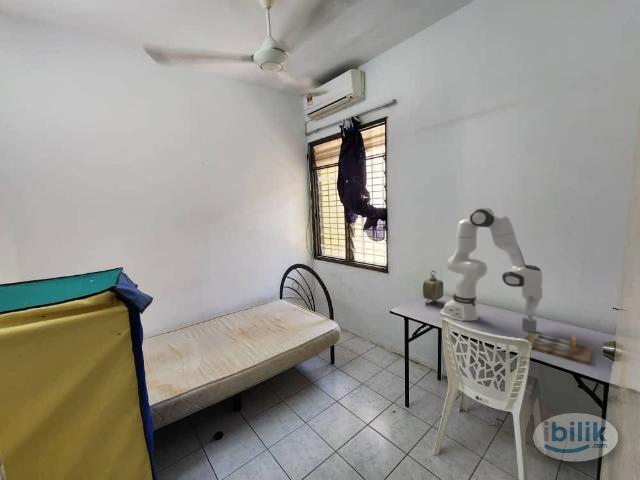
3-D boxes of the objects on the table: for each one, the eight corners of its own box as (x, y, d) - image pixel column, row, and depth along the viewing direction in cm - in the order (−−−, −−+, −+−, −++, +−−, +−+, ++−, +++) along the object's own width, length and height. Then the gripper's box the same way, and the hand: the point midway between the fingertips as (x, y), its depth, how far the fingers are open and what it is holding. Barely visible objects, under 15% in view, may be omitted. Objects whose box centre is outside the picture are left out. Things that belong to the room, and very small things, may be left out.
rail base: (522, 346, 134) (523, 339, 134) (529, 335, 145) (529, 328, 144) (590, 365, 117) (590, 356, 116) (591, 350, 127) (592, 343, 127)
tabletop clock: (432, 299, 208) (432, 268, 205) (444, 301, 201) (444, 269, 198) (423, 304, 199) (422, 271, 196) (434, 307, 192) (434, 273, 189)
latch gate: (571, 346, 129) (571, 339, 128) (572, 342, 133) (572, 334, 132) (574, 347, 128) (575, 340, 127) (575, 342, 132) (576, 335, 132)
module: (522, 329, 152) (522, 318, 151) (523, 328, 154) (523, 316, 153) (535, 333, 147) (536, 321, 146) (536, 331, 149) (537, 319, 148)
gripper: (536, 301, 138) (536, 326, 140) (541, 289, 152) (541, 312, 154) (521, 299, 143) (521, 323, 144) (528, 288, 157) (528, 310, 158)
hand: (532, 317), depth 149 cm, fingers open, 8 cm apart
